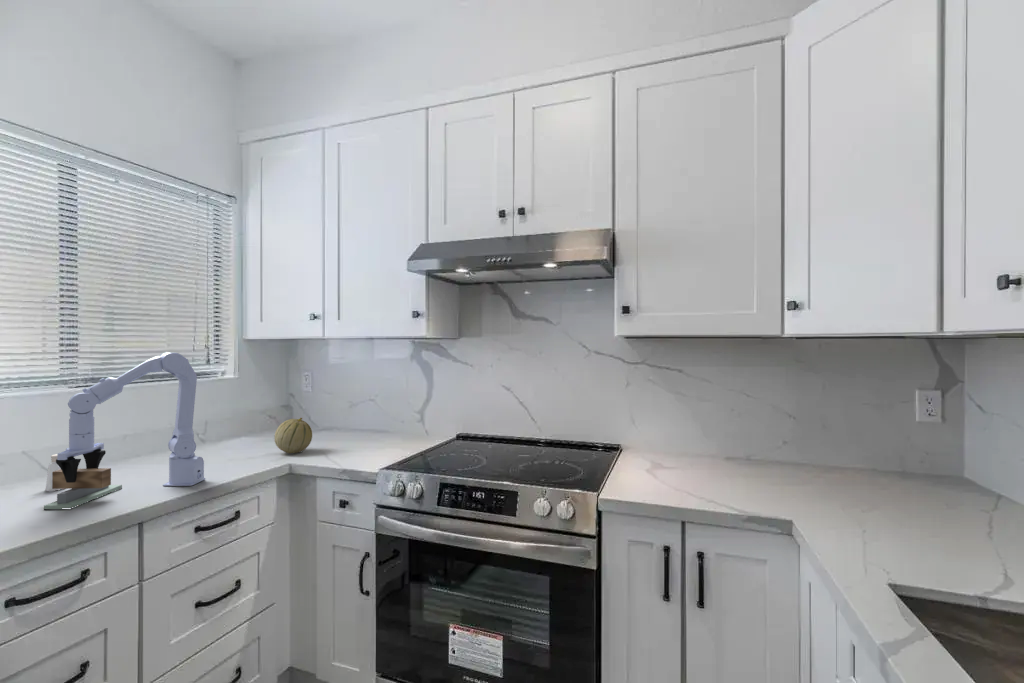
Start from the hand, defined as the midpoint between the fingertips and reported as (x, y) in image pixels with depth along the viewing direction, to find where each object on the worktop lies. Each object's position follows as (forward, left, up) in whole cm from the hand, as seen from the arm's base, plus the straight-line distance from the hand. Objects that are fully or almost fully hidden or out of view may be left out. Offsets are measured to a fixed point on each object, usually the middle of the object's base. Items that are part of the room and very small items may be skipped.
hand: (81, 478), depth 148 cm
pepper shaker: (+17, -12, -7) cm, 22 cm away
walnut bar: (0, 0, -2) cm, 2 cm away
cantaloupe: (-39, -61, -7) cm, 73 cm away
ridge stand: (0, -1, -6) cm, 7 cm away
